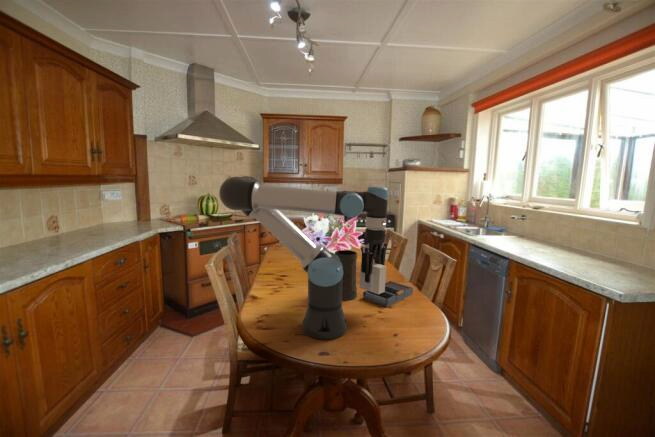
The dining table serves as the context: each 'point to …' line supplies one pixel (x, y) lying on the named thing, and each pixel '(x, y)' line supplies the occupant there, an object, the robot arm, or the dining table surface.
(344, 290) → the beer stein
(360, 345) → the dining table surface
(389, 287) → the dark grey compartment tray
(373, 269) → the white rectangular block
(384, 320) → the dining table surface
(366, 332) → the dining table surface
